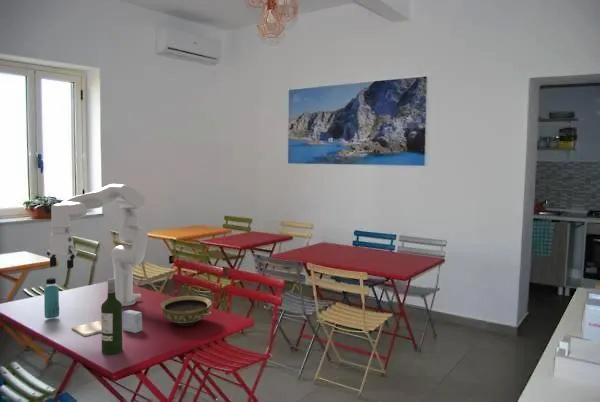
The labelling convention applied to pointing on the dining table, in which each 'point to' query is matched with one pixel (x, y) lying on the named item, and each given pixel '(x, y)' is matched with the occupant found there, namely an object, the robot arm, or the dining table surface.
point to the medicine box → (132, 321)
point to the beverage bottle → (51, 299)
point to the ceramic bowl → (186, 309)
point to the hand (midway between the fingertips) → (61, 267)
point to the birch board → (88, 328)
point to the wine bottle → (111, 322)
